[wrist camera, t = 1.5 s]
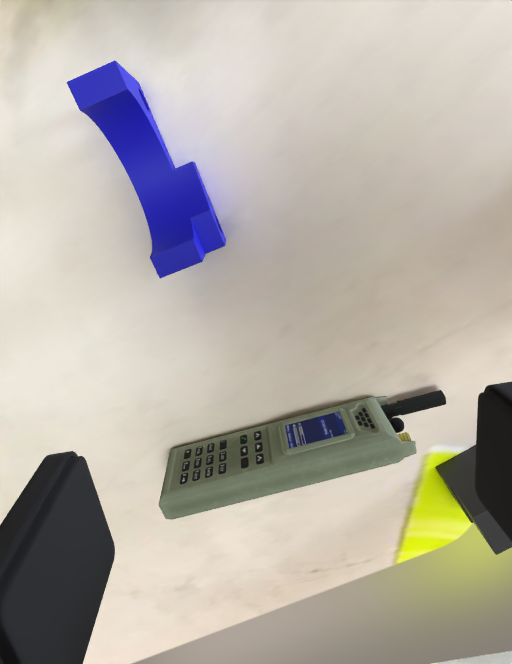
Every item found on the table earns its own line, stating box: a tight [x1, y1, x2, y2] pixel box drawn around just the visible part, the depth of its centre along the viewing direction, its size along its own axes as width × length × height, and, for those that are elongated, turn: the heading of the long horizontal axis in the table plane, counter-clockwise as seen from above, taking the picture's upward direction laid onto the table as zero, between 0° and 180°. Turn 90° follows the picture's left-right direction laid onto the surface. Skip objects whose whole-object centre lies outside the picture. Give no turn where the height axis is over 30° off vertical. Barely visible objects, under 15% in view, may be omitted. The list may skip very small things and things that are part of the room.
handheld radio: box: [159, 390, 446, 519], centre depth 36 cm, size 7×3×25 cm
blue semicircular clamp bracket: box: [67, 61, 226, 278], centre depth 29 cm, size 12×4×6 cm, turn 21°
